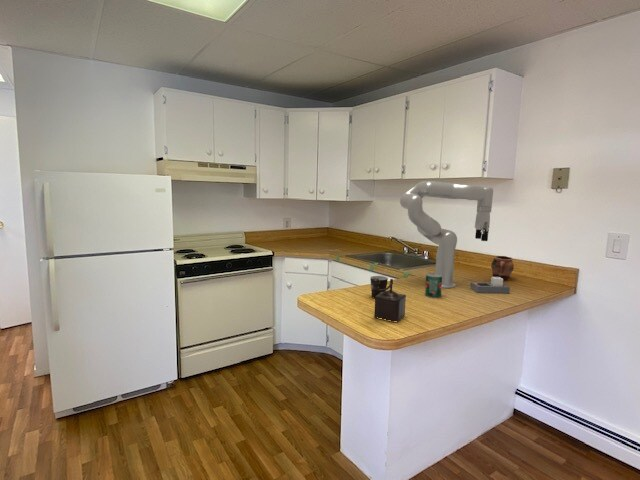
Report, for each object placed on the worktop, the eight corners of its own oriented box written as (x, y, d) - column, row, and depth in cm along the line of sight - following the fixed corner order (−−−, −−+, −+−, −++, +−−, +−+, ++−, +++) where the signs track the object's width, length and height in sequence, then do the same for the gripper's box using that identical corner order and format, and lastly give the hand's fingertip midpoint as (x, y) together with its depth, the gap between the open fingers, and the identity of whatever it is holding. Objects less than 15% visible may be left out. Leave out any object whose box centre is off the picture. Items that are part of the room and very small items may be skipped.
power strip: (476, 293, 190) (477, 285, 190) (465, 284, 206) (465, 278, 206) (509, 293, 190) (510, 286, 189) (495, 285, 206) (495, 278, 205)
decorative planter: (513, 284, 208) (515, 261, 206) (490, 282, 213) (491, 259, 212) (511, 277, 226) (513, 255, 224) (490, 275, 231) (491, 253, 229)
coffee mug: (385, 300, 175) (386, 280, 174) (367, 298, 178) (368, 278, 177) (389, 294, 186) (390, 275, 184) (372, 292, 189) (373, 273, 187)
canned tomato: (443, 297, 181) (445, 276, 180) (429, 298, 180) (430, 276, 178) (436, 293, 189) (437, 272, 187) (422, 293, 188) (423, 273, 186)
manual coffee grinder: (381, 310, 161) (382, 271, 158) (405, 315, 155) (407, 274, 152) (367, 321, 147) (368, 278, 145) (393, 327, 142) (395, 282, 139)
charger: (493, 291, 192) (494, 278, 191) (490, 289, 197) (491, 276, 196) (502, 291, 192) (503, 278, 191) (498, 289, 196) (499, 276, 195)
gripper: (472, 208, 211) (469, 237, 213) (482, 210, 194) (479, 241, 196) (485, 209, 210) (482, 238, 213) (497, 210, 193) (494, 242, 196)
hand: (481, 239), depth 204 cm, fingers open, 9 cm apart
